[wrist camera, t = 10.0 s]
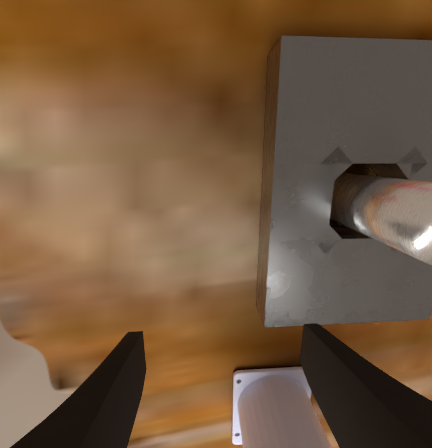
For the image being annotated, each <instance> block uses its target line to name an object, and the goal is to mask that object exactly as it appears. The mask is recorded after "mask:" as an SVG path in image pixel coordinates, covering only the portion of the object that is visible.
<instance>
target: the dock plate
mask: <svg viewBox="0 0 432 448" xmlns="http://www.w3.org/2000/svg"><path fill="white" fill-rule="evenodd" d="M364 163H368V164H369V165H370V166H371V168H372V169H373V170H374V171H375V173H376V174H377V175H378V176H379V177H388V178H398V179H407V180H417V181H426V182H432V40H410V39H378V38H346V37H314V36H281V37H280V39H279V40H278V42H277V43H276V44H275V46H274V47H273V49H272V50H271V52H270V53H269V55H268V60H267V82H266V103H265V124H264V146H263V167H262V188H261V209H260V231H259V252H258V273H257V295H256V307H257V309H258V312H259V315H260V317H261V320H262V322H263V325H264V327H281V326H302V325H304V324H311V323H317V324H319V325H323V324H344V323H366V322H387V321H408V320H429V318H430V314H431V311H432V265H430V264H427V263H425V262H423V261H421V260H419V259H416V258H414V257H412V256H410V255H408V254H406V253H403V252H401V251H399V250H397V249H395V248H393V247H391V246H388V245H386V244H384V243H382V242H380V241H378V240H375V239H373V238H371V237H369V236H367V235H365V234H362V233H360V232H358V231H356V230H354V229H352V228H350V227H338V228H332V227H331V226H330V225H329V221H330V213H331V205H332V197H333V189H334V181H335V180H336V179H337V178H338V177H339V176H340V175H341V174H342V173H343V172H344V171H345V170H346V169H347V168H348V167H350V166H351V165H352V164H364Z"/></svg>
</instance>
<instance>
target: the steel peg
mask: <svg viewBox="0 0 432 448" xmlns="http://www.w3.org/2000/svg"><path fill="white" fill-rule="evenodd" d="M330 219H332V220H334V221H337V222H339V223H341V224H343V225H345V226H347V227H350V228H352V229H354V230H356V231H358V232H360V233H362V234H365V235H367V236H369V237H371V238H373V239H375V240H378V241H380V242H382V243H384V244H386V245H388V246H391V247H393V248H395V249H397V250H399V251H401V252H403V253H406V254H408V255H410V256H412V257H414V258H416V259H419V260H421V261H423V262H425V263H427V264H430V265H432V182H426V181H417V180H407V179H398V178H388V177H379V176H369V175H360V174H350V173H345V174H341V175H340V176H339V177H338V178H337V179H336V180H335V181H334V189H333V197H332V205H331V213H330Z"/></svg>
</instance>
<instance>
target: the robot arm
mask: <svg viewBox="0 0 432 448" xmlns="http://www.w3.org/2000/svg"><path fill="white" fill-rule="evenodd" d="M300 363H301V366H302V367H287V368H270V369H253V370H238V371H235V372H234V374H233V415H232V442H233V444H235V445H240V444H242V446H243V448H332V447H331V445H330V443H329V441H328V438H327V436H326V434H325V432H324V430H323V428H322V425H321V423H320V421H319V419H318V417H317V414H316V412H315V410H314V408H313V406H312V404H311V401H310V398H311V391H312V393H313V395H314V397H315V399H316V401H317V403H318V405H319V407H320V409H321V411H322V413H323V415H324V417H325V419H326V421H327V423H328V425H329V427H330V429H331V431H332V433H333V435H334V437H335V439H336V441H337V443H338V445H339V447H340V448H432V401H431V400H429V399H427V398H425V397H424V396H422V395H420V394H418V393H417V392H415V391H413V390H412V389H410V388H408V387H407V386H405V385H403V384H402V383H400V382H399V381H397V380H395V379H394V378H392V377H391V376H389V375H388V374H386V373H385V372H383V371H382V370H380V369H379V368H377V367H376V366H374V365H373V364H371V363H370V362H369V361H367V360H366V359H364V358H363V357H361V356H360V355H359V354H357V353H356V352H355V351H353V350H352V349H351V348H349V347H348V346H347V345H345V344H344V343H343V342H341V341H340V340H339V339H337V338H336V337H335V336H333V335H332V334H331V333H330V332H328V331H327V330H326V329H324V328H323V327H321V326H320V325H319V324H317V323H311V324H304V326H303V336H302V345H301V354H300ZM145 374H146V361H145V351H144V340H143V331H139V332H128V333H127V334H126V335H125V336H124V337H123V339H122V340H121V341H120V342H119V343H118V345H117V346H116V347H115V348H114V349H113V350H112V352H111V353H110V354H109V355H108V356H107V357H106V359H105V360H104V361H103V362H102V363H101V364H100V365H99V366H98V368H97V369H96V370H95V371H94V372H93V373H92V374H91V375H90V376H89V377H88V378H87V379H86V380H85V381H84V382H83V383H82V384H81V385H80V387H79V388H78V389H77V390H76V391H75V392H74V393H73V394H72V395H71V396H70V397H69V398H68V399H66V400H65V401H64V402H63V403H62V404H61V405H60V406H59V407H58V408H57V409H56V410H55V411H54V412H52V413H51V414H50V415H49V416H48V417H47V418H46V419H45V420H43V421H42V422H41V423H40V424H39V425H37V426H36V427H35V428H34V429H32V430H31V431H30V432H29V433H28V434H26V435H25V436H24V437H23V438H21V439H20V440H19V441H18V442H16V443H15V444H14V445H13V446H12V447H10V448H127V445H128V442H129V438H130V435H131V431H132V428H133V424H134V421H135V417H136V414H137V410H138V407H139V403H140V400H141V396H142V391H143V386H144V380H145Z"/></svg>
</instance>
